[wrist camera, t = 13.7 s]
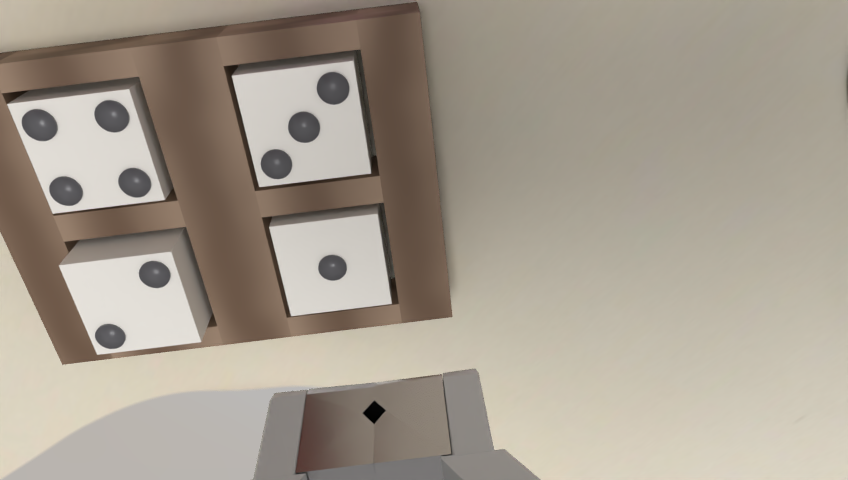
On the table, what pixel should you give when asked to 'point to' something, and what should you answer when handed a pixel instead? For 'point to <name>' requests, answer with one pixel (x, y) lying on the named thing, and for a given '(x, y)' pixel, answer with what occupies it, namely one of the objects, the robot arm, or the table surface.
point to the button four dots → (92, 144)
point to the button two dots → (138, 290)
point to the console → (235, 173)
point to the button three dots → (304, 118)
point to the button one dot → (332, 259)
